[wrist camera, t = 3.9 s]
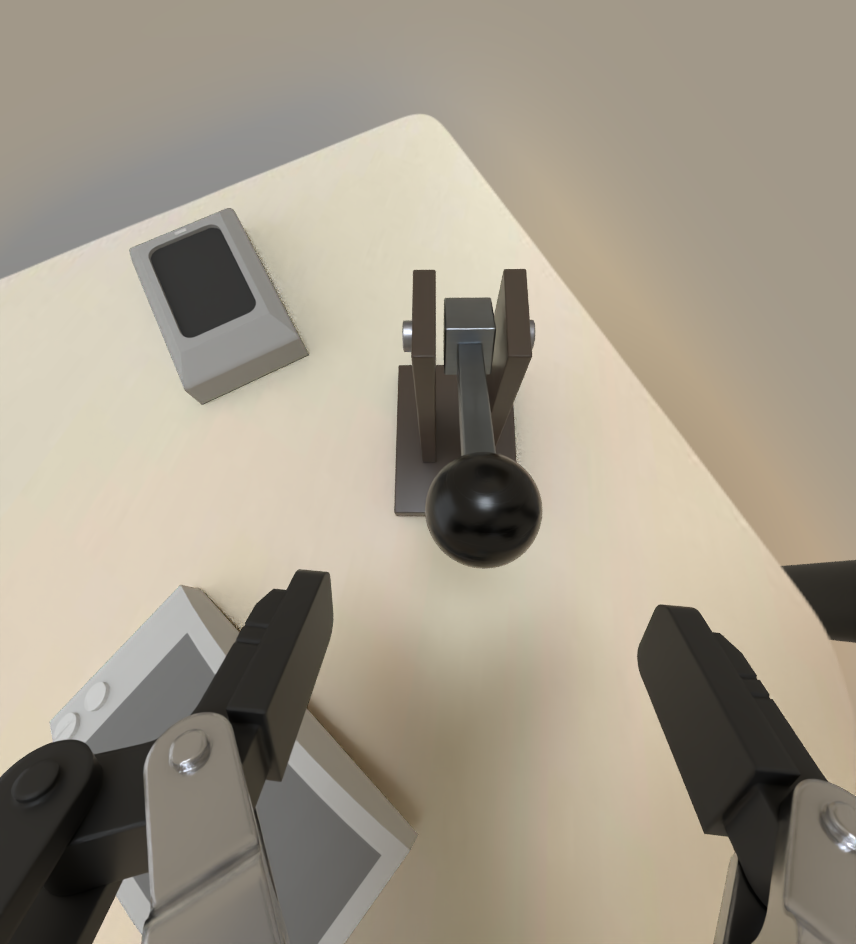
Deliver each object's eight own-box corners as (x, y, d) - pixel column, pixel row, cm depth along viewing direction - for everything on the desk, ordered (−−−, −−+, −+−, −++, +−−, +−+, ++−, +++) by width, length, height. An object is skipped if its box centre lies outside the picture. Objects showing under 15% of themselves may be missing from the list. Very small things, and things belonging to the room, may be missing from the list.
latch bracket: (516, 516, 31) (590, 443, 16) (395, 515, 32) (358, 443, 16) (508, 372, 35) (564, 200, 20) (399, 372, 35) (371, 202, 20)
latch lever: (539, 589, 13) (565, 525, 11) (425, 588, 13) (422, 524, 11) (498, 352, 22) (507, 283, 19) (430, 352, 22) (429, 284, 19)
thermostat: (198, 585, 31) (146, 582, 25) (420, 809, 26) (415, 865, 21) (78, 712, 28) (-8, 740, 23) (299, 979, 24) (258, 1091, 19)
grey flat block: (175, 382, 31) (117, 238, 35) (202, 404, 34) (146, 271, 38) (294, 328, 32) (225, 194, 36) (309, 354, 36) (244, 230, 39)
